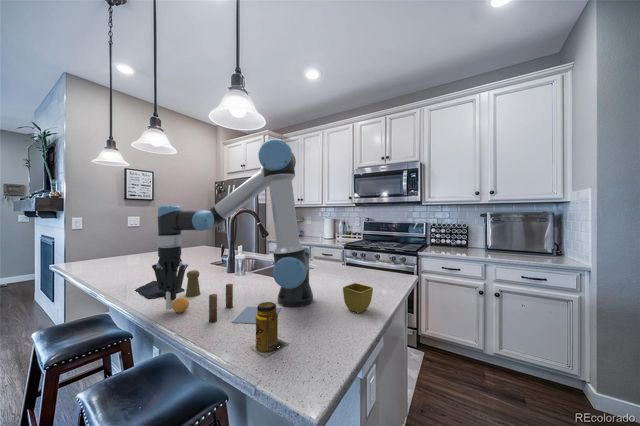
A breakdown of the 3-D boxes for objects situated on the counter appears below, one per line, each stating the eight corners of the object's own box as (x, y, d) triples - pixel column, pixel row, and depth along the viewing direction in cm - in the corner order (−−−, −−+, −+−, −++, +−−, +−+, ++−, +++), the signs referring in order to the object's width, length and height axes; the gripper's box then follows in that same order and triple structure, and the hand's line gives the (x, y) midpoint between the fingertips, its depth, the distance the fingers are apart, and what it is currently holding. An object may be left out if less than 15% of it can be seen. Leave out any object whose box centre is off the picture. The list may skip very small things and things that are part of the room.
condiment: (249, 347, 69) (249, 305, 69) (273, 336, 75) (273, 297, 75) (265, 357, 64) (265, 312, 64) (289, 344, 71) (289, 302, 71)
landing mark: (281, 308, 97) (281, 307, 97) (271, 324, 83) (271, 323, 83) (246, 307, 98) (246, 306, 98) (231, 322, 84) (231, 322, 84)
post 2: (233, 306, 99) (233, 283, 99) (230, 308, 96) (231, 285, 96) (227, 305, 99) (227, 283, 99) (224, 308, 97) (224, 285, 97)
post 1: (218, 319, 86) (218, 294, 86) (214, 322, 84) (214, 296, 84) (211, 319, 87) (211, 293, 87) (207, 322, 84) (207, 296, 84)
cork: (194, 297, 109) (194, 272, 109) (182, 296, 110) (182, 271, 110) (203, 293, 115) (203, 269, 115) (191, 292, 116) (192, 268, 116)
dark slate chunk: (167, 284, 130) (167, 275, 130) (186, 292, 117) (186, 282, 117) (132, 291, 118) (132, 281, 118) (149, 301, 105) (149, 290, 105)
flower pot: (373, 310, 96) (373, 287, 96) (361, 317, 89) (361, 292, 89) (354, 304, 102) (355, 282, 102) (341, 310, 95) (342, 287, 95)
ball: (192, 309, 95) (192, 295, 95) (183, 315, 90) (183, 300, 90) (178, 308, 96) (178, 294, 96) (168, 314, 90) (169, 299, 90)
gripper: (192, 244, 96) (192, 304, 96) (160, 244, 97) (161, 304, 97) (179, 247, 89) (180, 312, 89) (145, 247, 90) (146, 311, 90)
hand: (170, 308), depth 93 cm, fingers closed
